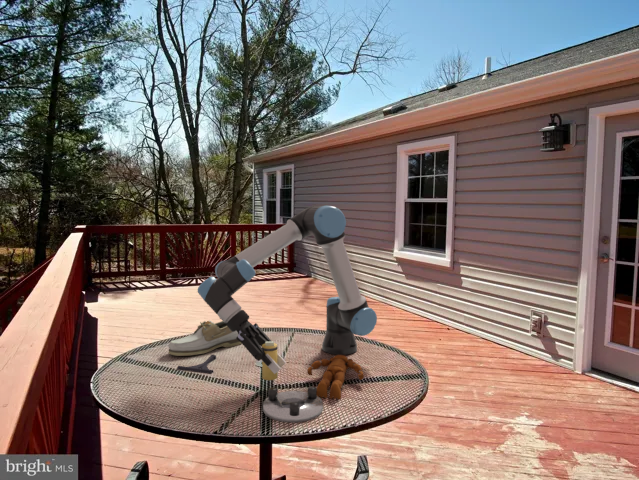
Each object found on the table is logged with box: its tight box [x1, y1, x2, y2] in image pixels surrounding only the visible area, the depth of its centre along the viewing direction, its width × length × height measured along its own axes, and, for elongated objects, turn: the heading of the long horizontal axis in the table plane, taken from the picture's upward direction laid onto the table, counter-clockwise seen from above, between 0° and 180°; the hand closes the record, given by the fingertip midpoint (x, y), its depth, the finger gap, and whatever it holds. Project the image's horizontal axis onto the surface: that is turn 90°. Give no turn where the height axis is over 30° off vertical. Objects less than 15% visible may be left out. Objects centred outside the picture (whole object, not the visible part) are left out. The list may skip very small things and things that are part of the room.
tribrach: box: [262, 385, 324, 423], centre depth 129 cm, size 18×18×4 cm
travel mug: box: [261, 340, 279, 381], centre depth 142 cm, size 5×5×12 cm
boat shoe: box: [168, 320, 243, 357], centre depth 185 cm, size 13×36×12 cm, turn 137°
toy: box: [306, 354, 365, 400], centre depth 150 cm, size 20×7×30 cm
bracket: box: [176, 354, 217, 374], centre depth 165 cm, size 14×15×3 cm
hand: (280, 368), depth 142 cm, fingers closed on travel mug, 5 cm apart
